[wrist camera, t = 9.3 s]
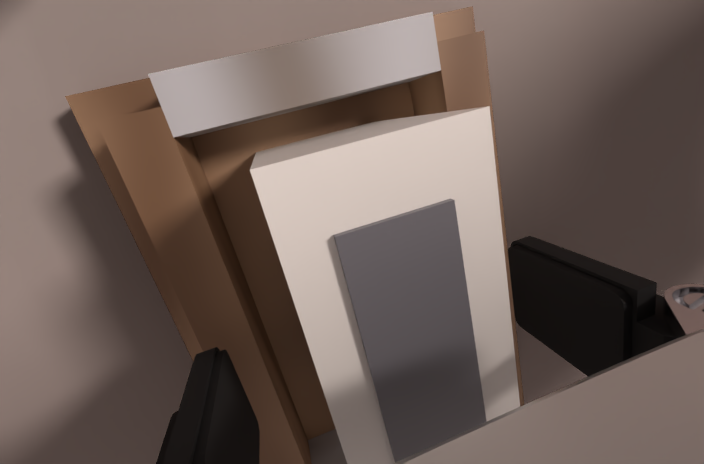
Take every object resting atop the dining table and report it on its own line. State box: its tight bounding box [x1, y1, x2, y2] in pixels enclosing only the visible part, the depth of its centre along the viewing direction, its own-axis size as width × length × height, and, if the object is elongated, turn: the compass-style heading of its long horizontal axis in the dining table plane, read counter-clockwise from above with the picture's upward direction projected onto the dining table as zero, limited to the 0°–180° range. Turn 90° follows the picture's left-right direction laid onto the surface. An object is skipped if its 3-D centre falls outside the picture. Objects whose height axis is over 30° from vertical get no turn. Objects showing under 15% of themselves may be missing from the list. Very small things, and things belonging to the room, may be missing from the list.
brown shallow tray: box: [65, 6, 524, 464], centre depth 14 cm, size 14×18×4 cm
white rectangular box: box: [250, 106, 520, 464], centre depth 11 cm, size 4×12×7 cm, turn 14°
